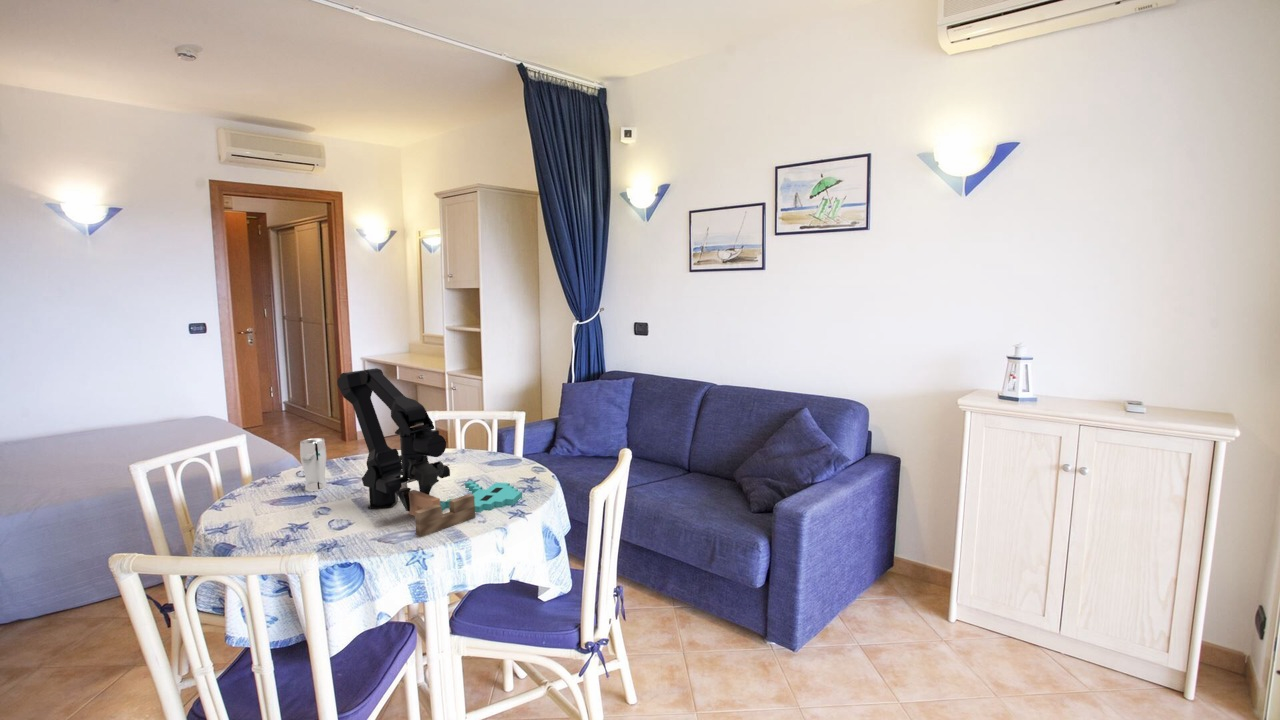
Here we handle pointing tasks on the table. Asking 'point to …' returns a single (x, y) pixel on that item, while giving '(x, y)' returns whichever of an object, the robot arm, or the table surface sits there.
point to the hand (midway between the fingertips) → (416, 508)
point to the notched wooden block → (444, 515)
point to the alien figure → (490, 496)
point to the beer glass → (314, 463)
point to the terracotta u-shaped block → (421, 501)
